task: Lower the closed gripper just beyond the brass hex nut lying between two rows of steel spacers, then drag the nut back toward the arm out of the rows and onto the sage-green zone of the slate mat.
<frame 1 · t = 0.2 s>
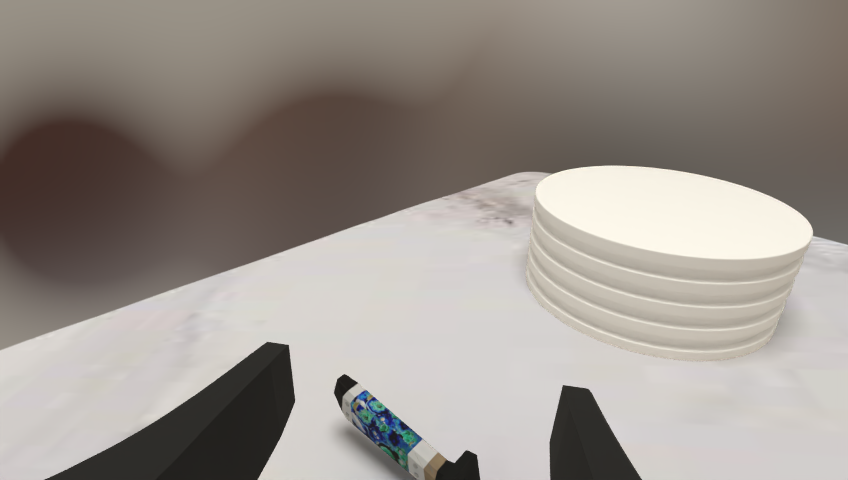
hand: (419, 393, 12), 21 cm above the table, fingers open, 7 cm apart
plate stack: (639, 288, 59), on the table
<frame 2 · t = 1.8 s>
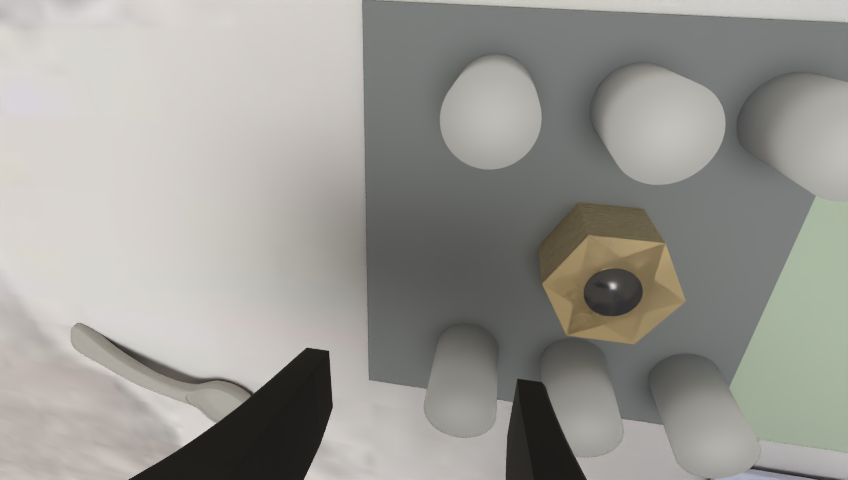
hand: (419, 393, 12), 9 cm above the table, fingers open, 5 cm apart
nut: (599, 253, 20), resting on spacer board
spacer board: (673, 259, 19), on the table
spoon: (176, 365, 28), on the table
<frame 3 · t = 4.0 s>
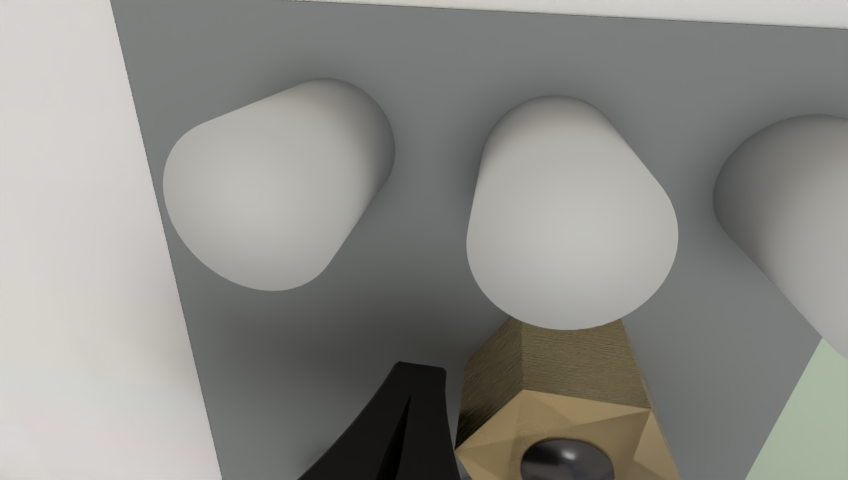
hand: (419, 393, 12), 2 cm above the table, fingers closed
nut: (555, 376, 13), resting on spacer board, touching gripper
spacer board: (623, 380, 13), on the table
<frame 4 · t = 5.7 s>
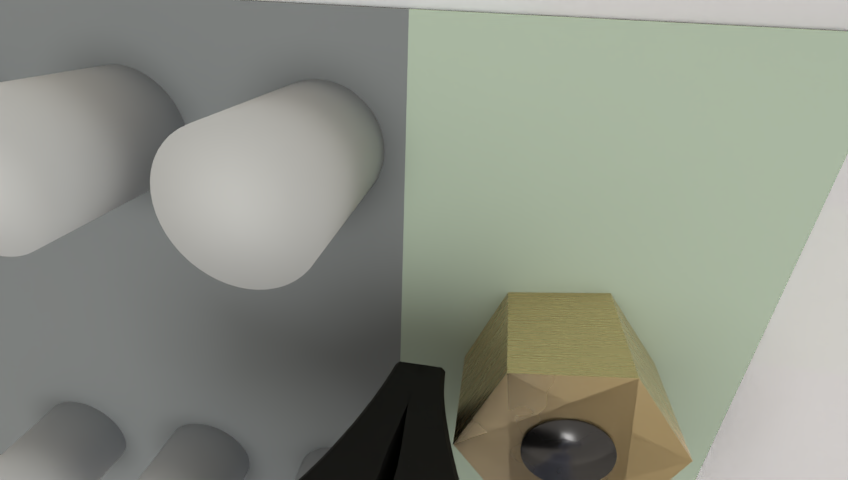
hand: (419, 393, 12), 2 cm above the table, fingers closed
nut: (556, 359, 13), resting on spacer board, touching gripper
spacer board: (273, 330, 14), on the table
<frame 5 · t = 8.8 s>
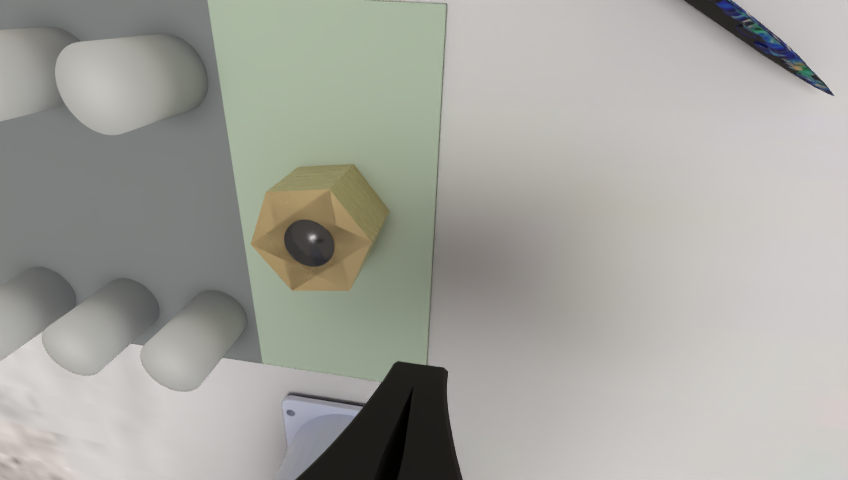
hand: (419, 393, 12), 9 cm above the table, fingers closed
nut: (335, 212, 21), resting on spacer board
spacer board: (163, 203, 22), on the table
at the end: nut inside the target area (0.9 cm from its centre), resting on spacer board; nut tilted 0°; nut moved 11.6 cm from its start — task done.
